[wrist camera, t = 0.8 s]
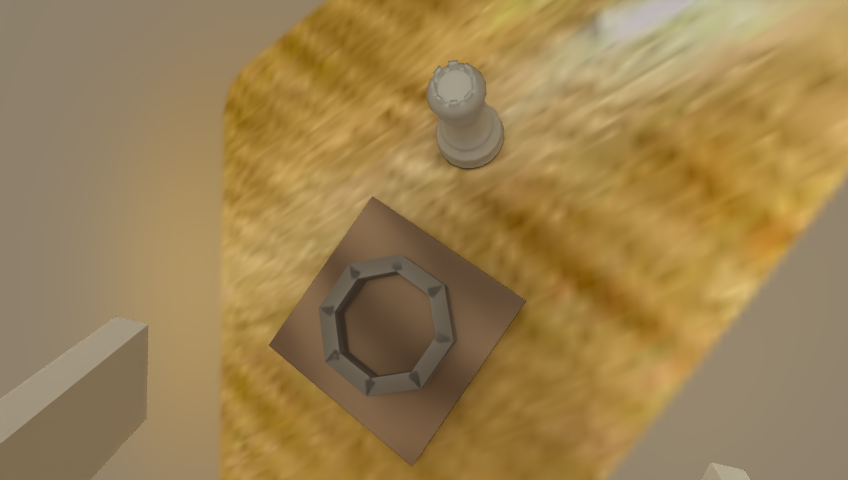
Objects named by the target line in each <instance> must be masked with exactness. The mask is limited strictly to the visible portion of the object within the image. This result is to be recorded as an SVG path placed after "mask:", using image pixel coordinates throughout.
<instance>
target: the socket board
mask: <svg viewBox="0 0 848 480" xmlns="http://www.w3.org/2000/svg"><path fill="white" fill-rule="evenodd" d="M525 302H526V300H524V299H523V298H521V297H520V296H518V295H517V294H515V293H514V292H512V291H511V290H510V289H508V288H507V287H505V286H504V285H502V284H501V283H499V282H498V281H496V280H495V279H493V278H492V277H490V276H489V275H487V274H486V273H485V272H483V271H482V270H480V269H479V268H477V267H476V266H474V265H473V264H471V263H470V262H468V261H467V260H465V259H464V258H462V257H461V256H460V255H458V254H457V253H455V252H454V251H452V250H451V249H449V248H448V247H446V246H445V245H443V244H442V243H440V242H439V241H437V240H436V239H435V238H433V237H432V236H430V235H429V234H427V233H426V232H424V231H423V230H421V229H420V228H418V227H417V226H415V225H414V224H412V223H411V222H409V221H408V220H407V219H405V218H404V217H402V216H401V215H399V214H398V213H396V212H395V211H393V210H392V209H390V208H389V207H387V206H386V205H384V204H383V203H382V202H380V201H379V200H377V199H376V198H374V197H373V196H372V197H371V199H370V200H369V202H368V203H367V205H366V206H365V208H364V209H363V210H362V212H361V213H360V215H359V216H358V218H357V219H356V220H355V222H354V223H353V225H352V226H351V228H350V229H349V231H348V232H347V233H346V235H345V236H344V238H343V239H342V241H341V242H340V243H339V245H338V246H337V248H336V249H335V251H334V252H333V254H332V255H331V256H330V258H329V259H328V261H327V262H326V264H325V265H324V266H323V268H322V269H321V271H320V272H319V274H318V275H317V277H316V278H315V279H314V281H313V282H312V284H311V285H310V287H309V288H308V289H307V291H306V292H305V294H304V295H303V297H302V298H301V300H300V301H299V302H298V304H297V305H296V307H295V308H294V310H293V311H292V312H291V314H290V315H289V317H288V318H287V320H286V321H285V323H284V324H283V325H282V327H281V328H280V330H279V331H278V333H277V334H276V335H275V337H274V338H273V340H272V341H271V343H270V344H269V346H270V347H271V348H273V349H274V350H275V351H276V352H277V353H279V354H280V355H281V356H282V357H283V358H284V359H286V360H287V361H288V362H289V363H290V364H292V365H293V366H294V367H295V368H296V369H297V370H299V371H300V372H301V373H302V374H303V375H304V376H306V377H307V378H308V379H309V380H310V381H312V382H313V383H314V384H315V385H316V386H317V387H319V388H320V389H321V390H322V391H323V392H325V393H326V394H327V395H328V396H329V397H330V398H332V399H333V400H334V401H335V402H336V403H338V404H339V405H340V406H341V407H342V408H343V409H345V410H346V411H347V412H348V413H349V414H351V415H352V416H353V417H354V418H355V419H356V420H358V421H359V422H360V423H361V424H362V425H364V426H365V427H366V428H367V429H368V430H369V431H371V432H372V433H373V434H374V435H375V436H377V437H378V438H379V439H380V440H381V441H382V442H384V443H385V444H386V445H387V446H388V447H389V448H391V449H392V450H393V451H394V452H395V453H397V454H398V455H399V456H400V457H401V458H402V459H404V460H405V461H406V462H407V463H408V464H410V465H411V466H413V464H414V463H415V462H416V461H417V459H418V458H419V456H420V455H421V454H422V452H423V451H424V449H425V448H426V446H427V445H428V443H429V442H430V440H431V439H432V438H433V436H434V435H435V433H436V432H437V430H438V429H439V427H440V426H441V424H442V423H443V421H444V420H445V419H446V417H447V416H448V414H449V413H450V411H451V410H452V408H453V407H454V405H455V404H456V403H457V401H458V400H459V398H460V397H461V395H462V394H463V392H464V391H465V389H466V388H467V387H468V385H469V384H470V382H471V381H472V379H473V378H474V376H475V375H476V373H477V372H478V370H479V369H480V368H481V366H482V365H483V363H484V362H485V360H486V359H487V357H488V356H489V354H490V353H491V352H492V350H493V349H494V347H495V346H496V344H497V343H498V341H499V340H500V338H501V337H502V336H503V334H504V333H505V331H506V330H507V328H508V327H509V325H510V324H511V322H512V321H513V319H514V318H515V317H516V315H517V314H518V312H519V311H520V309H521V308H522V306H523V305H524V303H525Z"/></svg>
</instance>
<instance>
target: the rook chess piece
mask: <svg viewBox="0 0 848 480" xmlns="http://www.w3.org/2000/svg"><path fill="white" fill-rule="evenodd" d="M448 63H449V65H447V66H445V67H443V68H441V67H440V66H439V67H438V68H437V69H436V70H435V71H434V72H433V73H434V76H433V77H432V78H431V79H430V82H429V84H428V87H427V102H428V104H429V106H430V108H431V110H432V111H433V112H434V113H436V114H437V115H438V116H439V118H440V120H439V122H438V125H437V142H438V146H439V148H440V151H441V153H442V155H443V157H444V158H446V159H447V160H448V161H449V162H450V163H451V164H453V165H456V166H459V167H462V168H476V167H480V166H482V165H484V164H486V163H488V162H490V161H491V160H492V159H493V158H494V157H495V156H496V155H497V154H498V153H499V151H500V148H501V146H502V143H503V141H504V129H503V125H502V122H501V120H500V118H499V116H498V114H497V112H496V111H495V110H494V109H493V108H492V107H490V106H489V105H488V104H487V103H486V102H485V101H484V98H485V96H486V82H485V80H484V78H483V76H482V74H481V72H480V71H478V70H477V69H476V68H474V67H473V66H471V65H469V64H468V63H466V64H463V63H458V60H455V61H448Z"/></svg>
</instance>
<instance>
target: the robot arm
mask: <svg viewBox="0 0 848 480" xmlns="http://www.w3.org/2000/svg"><path fill="white" fill-rule="evenodd" d="M147 365H148V324H145V323H140V322H136V321H132V320H128V319H124V318H120V317H115V318H113V319H112V320H110V321H109V322H108V323H106V324H105V325H103V326H102V327H100V328H99V329H98V330H96V331H95V332H93V333H92V334H91V335H89V336H88V337H86V338H85V339H84V340H82V341H81V342H79V343H78V344H77V345H75V346H74V347H72V348H71V349H70V350H68V351H67V352H65V353H64V354H63V355H61V356H60V357H58V358H57V359H56V360H54V361H53V362H51V363H50V364H48V365H47V366H46V367H44V368H43V369H42V370H40V371H39V372H38V373H36V374H34V376H32V377H30V378H29V379H27V380H26V381H25V382H23V383H22V384H20V385H19V386H18V387H16V388H15V389H13V390H12V391H11V392H9V393H8V394H6V395H5V396H4V397H2V398H1V399H0V480H91V479H92V477H93V476H94V475H95V474H96V473H97V472H98V471H99V470H100V469H101V468H102V466H104V465H105V463H106V462H107V461H108V460H109V459H110V458H111V457H112V456H113V455H114V453H116V451H117V450H118V449H119V448H120V447H121V446H122V445H123V444H124V443H125V442H126V440H127V439H128V438H129V437H130V436H131V435H132V434H133V433H134V432H135V431H136V430H137V429H138V427H139V426H140V425H141V424H142V423H143V422H144V421H145V420H146V419H147ZM701 480H750V478H749V477H748V475H747V474H746V472H745V470H741V469H737V468H733V467H729V466H725V465H721V464H716V463H713V462H711V463H710V465H709V466H708V468H707V470H706V472H705V473H704V475H703V477H702V479H701Z"/></svg>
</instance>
